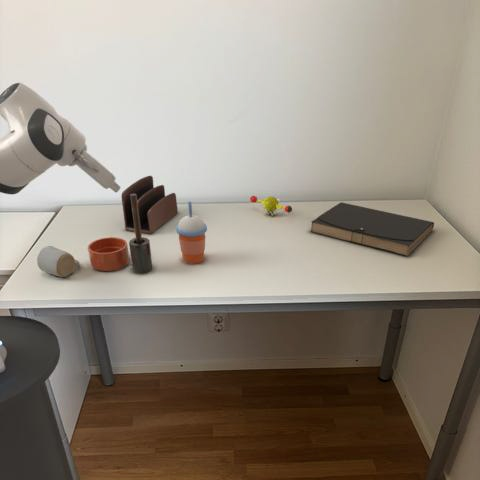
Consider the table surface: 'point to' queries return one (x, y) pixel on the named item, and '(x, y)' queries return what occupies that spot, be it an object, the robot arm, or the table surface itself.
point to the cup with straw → (192, 237)
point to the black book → (372, 228)
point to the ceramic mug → (56, 261)
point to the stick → (136, 218)
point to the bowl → (108, 254)
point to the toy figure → (271, 204)
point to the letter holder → (148, 205)
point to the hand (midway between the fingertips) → (109, 182)
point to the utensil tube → (141, 256)
